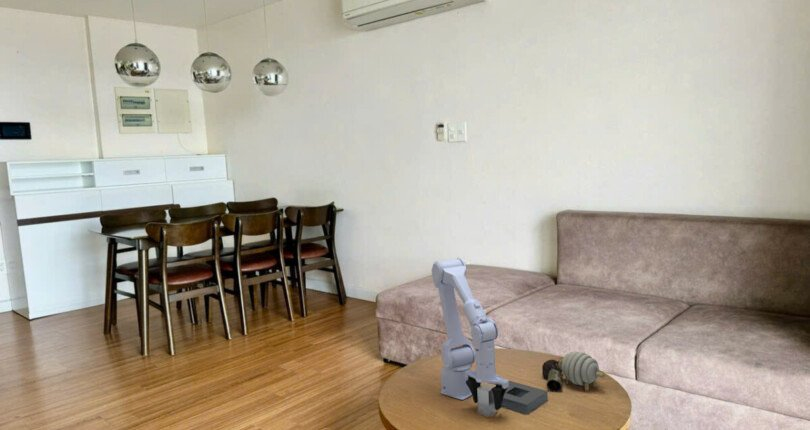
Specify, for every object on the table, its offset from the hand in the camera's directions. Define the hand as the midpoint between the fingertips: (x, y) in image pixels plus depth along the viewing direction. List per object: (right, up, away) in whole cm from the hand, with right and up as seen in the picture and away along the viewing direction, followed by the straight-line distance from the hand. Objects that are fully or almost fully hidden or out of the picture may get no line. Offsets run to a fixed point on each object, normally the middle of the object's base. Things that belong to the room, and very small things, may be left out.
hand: (487, 405), depth 169 cm
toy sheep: (+33, +1, +15) cm, 36 cm away
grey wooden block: (0, -2, 0) cm, 2 cm away
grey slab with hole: (+11, -1, +7) cm, 13 cm away
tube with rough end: (+25, +1, +21) cm, 33 cm away
